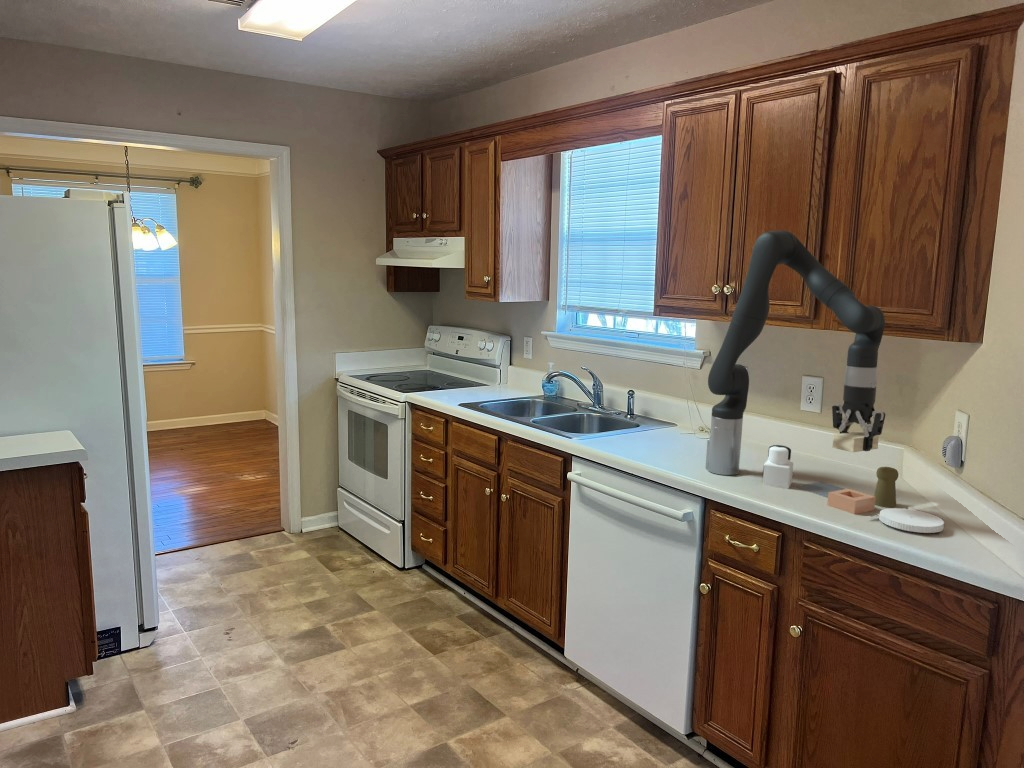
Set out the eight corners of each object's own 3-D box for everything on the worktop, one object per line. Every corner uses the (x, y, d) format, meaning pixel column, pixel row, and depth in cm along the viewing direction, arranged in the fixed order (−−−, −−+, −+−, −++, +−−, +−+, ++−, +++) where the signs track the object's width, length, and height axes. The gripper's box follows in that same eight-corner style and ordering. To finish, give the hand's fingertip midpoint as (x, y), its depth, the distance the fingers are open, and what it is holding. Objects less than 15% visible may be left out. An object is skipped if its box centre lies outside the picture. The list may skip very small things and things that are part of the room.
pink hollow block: (826, 508, 196) (828, 492, 195) (846, 504, 200) (848, 488, 199) (853, 517, 189) (855, 500, 188) (873, 513, 193) (875, 496, 192)
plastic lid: (882, 532, 180) (883, 521, 179) (875, 514, 193) (876, 505, 193) (948, 540, 175) (949, 530, 175) (936, 522, 188) (937, 512, 188)
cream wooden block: (832, 447, 194) (833, 434, 193) (856, 444, 199) (857, 431, 198) (853, 452, 189) (854, 438, 188) (877, 448, 194) (878, 435, 193)
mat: (792, 489, 212) (793, 486, 212) (821, 484, 218) (821, 481, 218) (828, 501, 202) (829, 498, 202) (857, 496, 208) (857, 492, 208)
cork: (888, 504, 201) (893, 464, 199) (901, 511, 195) (905, 470, 193) (866, 504, 201) (870, 464, 199) (878, 511, 195) (882, 470, 193)
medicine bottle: (765, 482, 220) (769, 442, 218) (791, 486, 216) (795, 445, 215) (761, 488, 213) (765, 447, 212) (788, 492, 210) (791, 450, 208)
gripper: (826, 381, 196) (821, 444, 198) (877, 388, 183) (871, 455, 186) (844, 380, 199) (840, 441, 202) (895, 386, 187) (889, 452, 189)
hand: (855, 448), depth 194 cm, fingers closed on cream wooden block, 6 cm apart
